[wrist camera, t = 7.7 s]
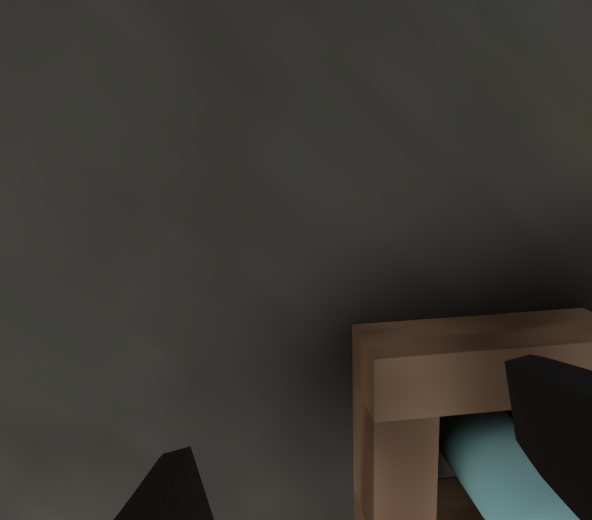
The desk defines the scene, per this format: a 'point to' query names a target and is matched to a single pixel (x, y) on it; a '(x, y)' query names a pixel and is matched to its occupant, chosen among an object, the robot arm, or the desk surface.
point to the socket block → (439, 399)
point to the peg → (497, 469)
